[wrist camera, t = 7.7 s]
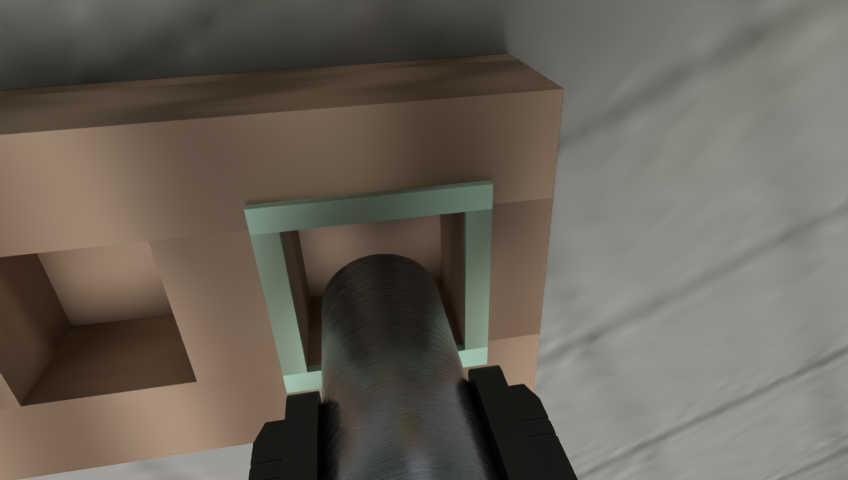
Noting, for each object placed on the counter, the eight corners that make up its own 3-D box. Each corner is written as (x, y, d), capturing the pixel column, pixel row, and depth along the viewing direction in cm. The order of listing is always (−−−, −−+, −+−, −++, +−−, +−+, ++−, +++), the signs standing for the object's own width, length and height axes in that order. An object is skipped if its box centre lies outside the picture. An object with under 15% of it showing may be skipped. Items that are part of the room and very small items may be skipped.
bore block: (509, 53, 19) (567, 91, 14) (497, 319, 25) (536, 404, 20) (-117, 98, 16) (-287, 162, 12) (40, 380, 22) (-32, 494, 18)
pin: (437, 247, 16) (658, 846, 5) (439, 340, 17) (607, 920, 7) (313, 261, 15) (296, 946, 5) (329, 355, 17) (340, 998, 7)
